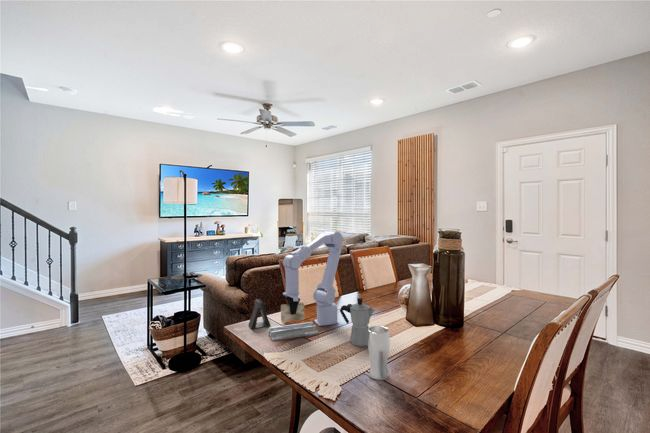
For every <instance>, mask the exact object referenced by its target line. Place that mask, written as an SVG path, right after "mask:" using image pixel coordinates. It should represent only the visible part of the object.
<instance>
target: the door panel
mask: <svg viewBox="0 0 650 433" xmlns="http://www.w3.org/2000/svg"><path fill="white" fill-rule="evenodd" d="M304 320H305V303H304V302H301V301H300V302H299V303H298V306H297V311H296V314H294V315H291V313H290V307H289V304H288V303H287V304H285V303H284V304H281V305H280V322H281V323H290V322H296V321H297V322H298V321H304Z"/></svg>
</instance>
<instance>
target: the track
mask: <svg viewBox="0 0 650 433" xmlns="http://www.w3.org/2000/svg"><path fill="white" fill-rule="evenodd" d="M268 334H269V337H270V339H271V342H274V341H275V342H276V341H281V340H288V339H289V340H290V339H295V338H301V337H307V336H315V335H319V331H318V330H317V325H316V324H315V325H314V321H308V322H307V321H306V322H300V323H293V324H286V325H285V324H284V325H279V326H278V325H277V326H268Z"/></svg>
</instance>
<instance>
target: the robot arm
mask: <svg viewBox="0 0 650 433" xmlns="http://www.w3.org/2000/svg"><path fill="white" fill-rule="evenodd" d="M343 241H344V237H343V235H342V233H341V232H340V231H329V230H324V231H322V232H321V233H319V235H318V236H317V237H316V238H315V239H314V240H312V241H311V242H310V243H309V244H307V245H300V246H299V248H297V249H296V250H295V251H293V252H292V253H291V254H288V255H287V254H286V255H285V257H284V259H283V261H282V265H283V267H284V271H285V272H284V273H285V292H282V295H283V296H284V298H285V300H286V303H287V304H289V307H290V313H291V315H294V314H296V311H297V306H298V303H300V302H301V298H300V297H299V295H300V288H299V287H300V285H299V282H300V281H299V280H300V279H299V275H300V274H299V268H301V266H302V263H303V262H304V261H305V260H308V259H309V257H311V256H312V252H314V251H315V250H317V249H318V248H319V247H321V246H323V245H324V246H326V248H328V250H329V254H328V256H327V260H326V264H325V268H324V273H323V275H322V280H321V282H320V283H319V284H317V286H316V289H315V290H314V292H313V294H312V297H313V300H314V302H315V304H316V318H315V319H314V321H313V322H315V323H316V324H317V325H318V326H319V327H321V326H323V327H324V326H329V325H330V326H331V325H337V324H338V323H339V321H338V306H337V304H336V303H335V299H336V289H335V287H334V286H333V285H334V281H335V277H336V275H337V274H336V273H337V269H338V265H339V261H340V257H341V253H342V245H343Z"/></svg>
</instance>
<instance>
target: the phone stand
mask: <svg viewBox="0 0 650 433" xmlns="http://www.w3.org/2000/svg"><path fill="white" fill-rule="evenodd" d="M259 314H261V319H262V321H261V322H258V318H259ZM248 326H249V327H250V329H251V330H257V329H263V328H269V327H272V326H271V323H270V320H269V318H268V315H267V313H266V311H265V303H264V302H263V301H262V300H261V299H260V298H258V299H257V298H256V299H255V300H254V306H253V310H252V312H251V315H250V318H249V322H248Z"/></svg>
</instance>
